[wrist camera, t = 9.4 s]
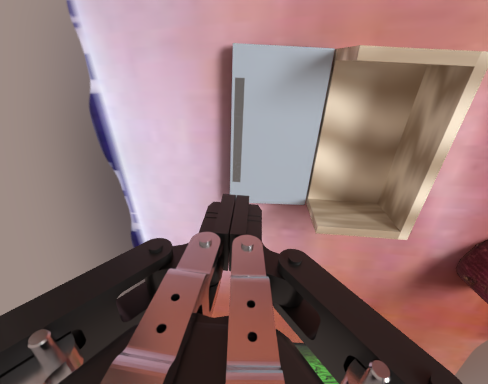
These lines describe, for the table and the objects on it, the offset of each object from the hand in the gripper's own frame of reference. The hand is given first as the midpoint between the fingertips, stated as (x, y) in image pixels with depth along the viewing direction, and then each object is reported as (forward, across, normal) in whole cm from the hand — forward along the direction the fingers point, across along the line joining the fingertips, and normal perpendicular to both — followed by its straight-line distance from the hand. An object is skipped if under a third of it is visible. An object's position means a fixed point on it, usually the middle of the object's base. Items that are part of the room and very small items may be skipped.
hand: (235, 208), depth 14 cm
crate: (+17, -13, 0) cm, 22 cm away
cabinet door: (+16, -8, 0) cm, 18 cm away
